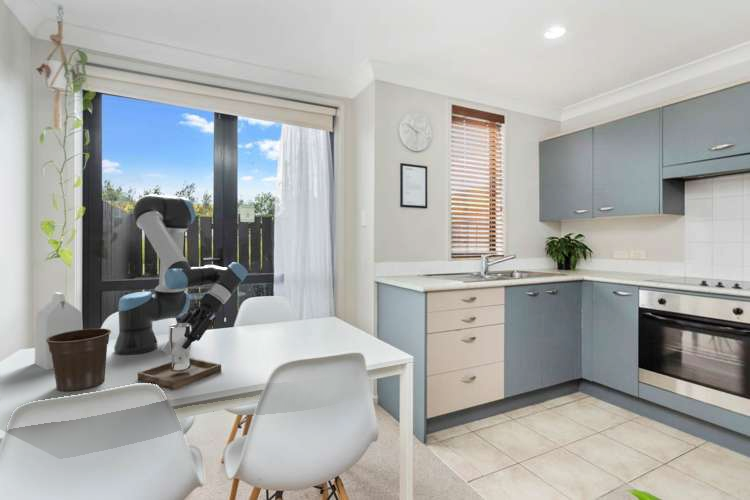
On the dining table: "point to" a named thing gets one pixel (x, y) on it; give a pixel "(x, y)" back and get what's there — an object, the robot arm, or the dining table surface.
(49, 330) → the milk
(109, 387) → the dining table surface
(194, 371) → the walnut tray
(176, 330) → the beer glass
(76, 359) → the plant pot
